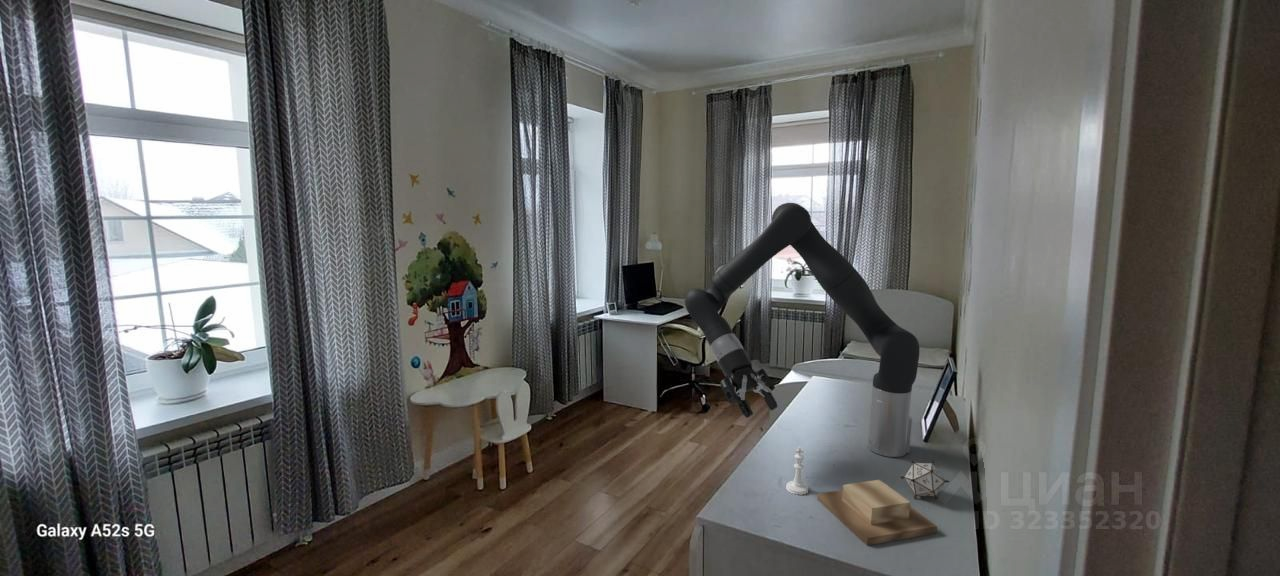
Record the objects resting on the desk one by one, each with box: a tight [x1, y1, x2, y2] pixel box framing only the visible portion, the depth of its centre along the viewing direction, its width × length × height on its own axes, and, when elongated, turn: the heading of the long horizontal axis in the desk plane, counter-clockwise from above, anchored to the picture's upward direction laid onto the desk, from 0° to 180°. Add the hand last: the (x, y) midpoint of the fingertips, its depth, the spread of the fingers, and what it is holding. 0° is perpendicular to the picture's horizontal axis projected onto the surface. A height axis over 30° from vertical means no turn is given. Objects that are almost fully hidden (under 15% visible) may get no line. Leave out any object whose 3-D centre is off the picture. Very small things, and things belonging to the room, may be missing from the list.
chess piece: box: [785, 447, 809, 496], centre depth 117 cm, size 5×5×10 cm
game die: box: [899, 459, 950, 500], centre depth 115 cm, size 9×8×10 cm
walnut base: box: [817, 479, 938, 546], centre depth 107 cm, size 16×16×5 cm
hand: (762, 412), depth 125 cm, fingers open, 8 cm apart
